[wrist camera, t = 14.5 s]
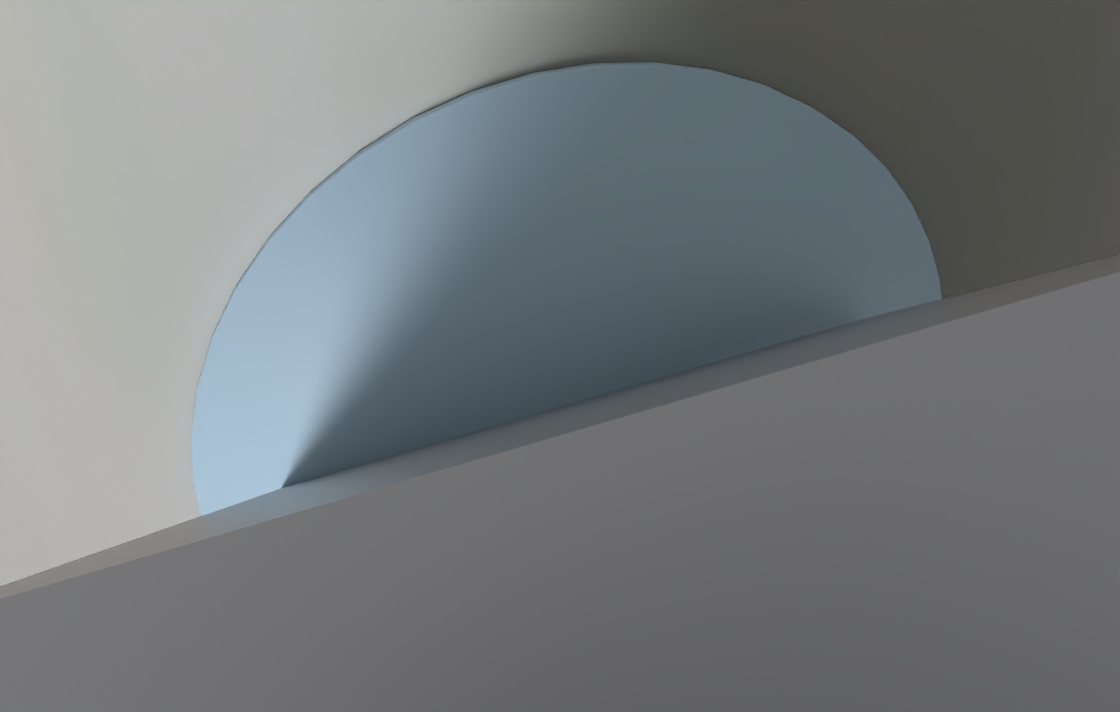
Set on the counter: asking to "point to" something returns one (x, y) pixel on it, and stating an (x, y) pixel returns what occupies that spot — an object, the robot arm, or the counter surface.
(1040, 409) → the matte grey cuboid
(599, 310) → the disc
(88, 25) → the counter surface
